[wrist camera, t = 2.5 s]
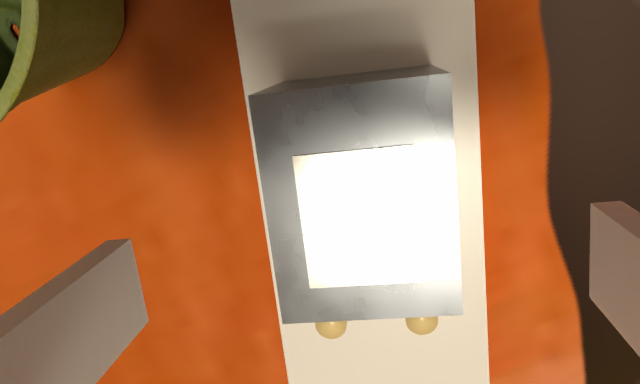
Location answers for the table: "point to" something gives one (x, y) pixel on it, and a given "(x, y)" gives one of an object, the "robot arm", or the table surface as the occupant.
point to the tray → (461, 61)
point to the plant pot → (53, 44)
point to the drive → (361, 194)
